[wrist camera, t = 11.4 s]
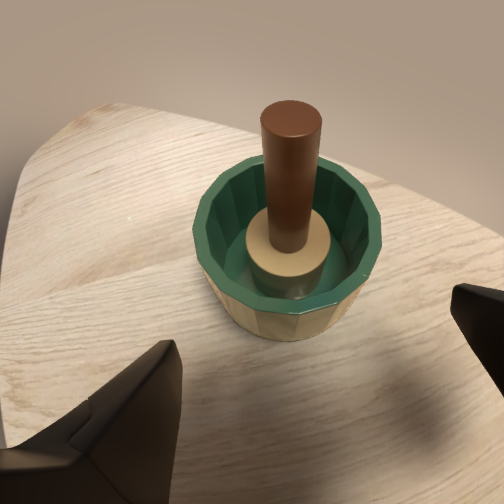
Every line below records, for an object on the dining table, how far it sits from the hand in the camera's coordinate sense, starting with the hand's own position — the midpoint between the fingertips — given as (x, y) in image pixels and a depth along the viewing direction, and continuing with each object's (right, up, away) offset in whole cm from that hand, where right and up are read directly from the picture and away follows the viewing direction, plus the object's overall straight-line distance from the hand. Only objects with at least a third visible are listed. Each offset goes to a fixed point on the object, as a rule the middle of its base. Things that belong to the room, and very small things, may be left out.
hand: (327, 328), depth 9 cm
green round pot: (0, +1, +9) cm, 10 cm away
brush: (0, +1, +9) cm, 9 cm away
